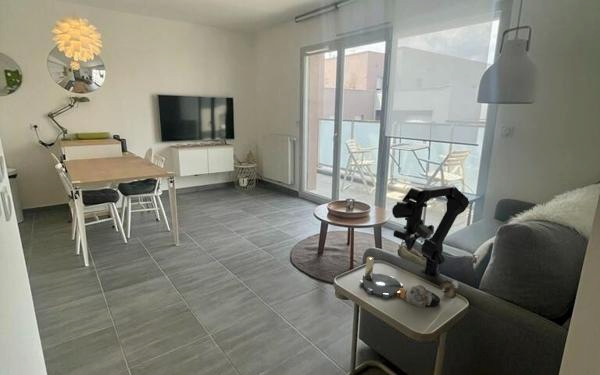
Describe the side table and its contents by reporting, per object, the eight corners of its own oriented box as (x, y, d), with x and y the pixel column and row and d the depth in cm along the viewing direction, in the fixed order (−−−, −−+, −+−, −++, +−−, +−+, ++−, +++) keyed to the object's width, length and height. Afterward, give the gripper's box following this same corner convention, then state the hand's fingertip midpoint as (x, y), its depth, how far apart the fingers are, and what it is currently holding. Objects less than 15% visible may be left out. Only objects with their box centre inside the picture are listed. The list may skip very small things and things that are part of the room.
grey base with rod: (357, 275, 144) (360, 252, 142) (396, 278, 144) (400, 255, 142) (363, 296, 128) (366, 271, 125) (407, 300, 127) (411, 274, 125)
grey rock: (435, 306, 130) (436, 316, 121) (408, 292, 134) (406, 301, 125) (442, 291, 129) (443, 300, 120) (414, 278, 133) (412, 286, 124)
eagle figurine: (435, 283, 141) (434, 289, 132) (447, 272, 139) (447, 277, 130) (449, 297, 138) (449, 303, 130) (462, 286, 136) (462, 292, 128)
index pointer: (400, 295, 131) (401, 287, 130) (405, 298, 130) (406, 290, 129) (398, 297, 130) (399, 289, 129) (403, 299, 128) (405, 291, 128)
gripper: (418, 225, 129) (412, 261, 132) (443, 219, 140) (437, 252, 143) (395, 217, 137) (390, 251, 141) (420, 211, 148) (415, 243, 152)
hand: (409, 250), depth 144 cm, fingers closed
